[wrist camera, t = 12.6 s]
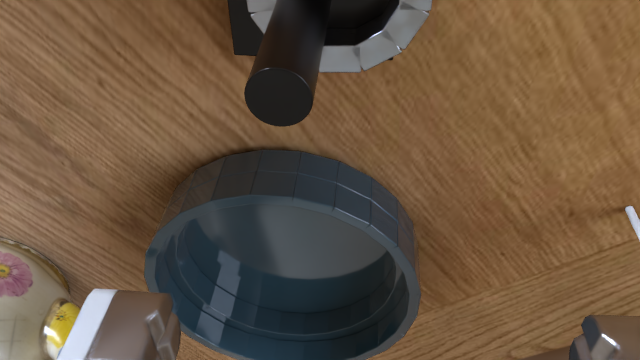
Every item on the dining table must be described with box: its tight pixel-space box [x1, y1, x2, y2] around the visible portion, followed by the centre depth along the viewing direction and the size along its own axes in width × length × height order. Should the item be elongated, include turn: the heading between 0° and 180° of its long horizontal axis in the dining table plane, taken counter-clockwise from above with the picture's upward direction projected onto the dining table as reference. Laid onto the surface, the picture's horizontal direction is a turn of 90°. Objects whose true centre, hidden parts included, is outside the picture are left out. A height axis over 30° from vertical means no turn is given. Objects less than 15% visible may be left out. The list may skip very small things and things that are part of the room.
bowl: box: [144, 149, 421, 360], centre depth 37 cm, size 17×17×4 cm
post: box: [228, 0, 393, 126], centre depth 22 cm, size 8×8×11 cm
